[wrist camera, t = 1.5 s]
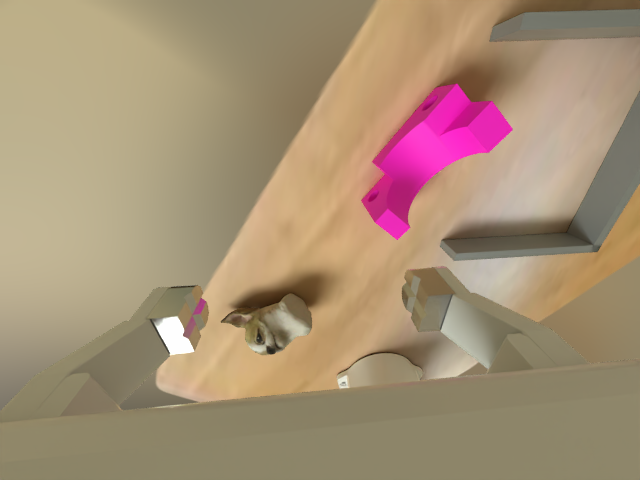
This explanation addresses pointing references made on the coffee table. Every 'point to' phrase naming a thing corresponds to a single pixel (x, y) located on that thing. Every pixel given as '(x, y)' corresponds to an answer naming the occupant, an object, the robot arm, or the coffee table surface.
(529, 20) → the box
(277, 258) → the coffee table surface
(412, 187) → the magenta curved bracket
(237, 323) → the ceramic sculpture
